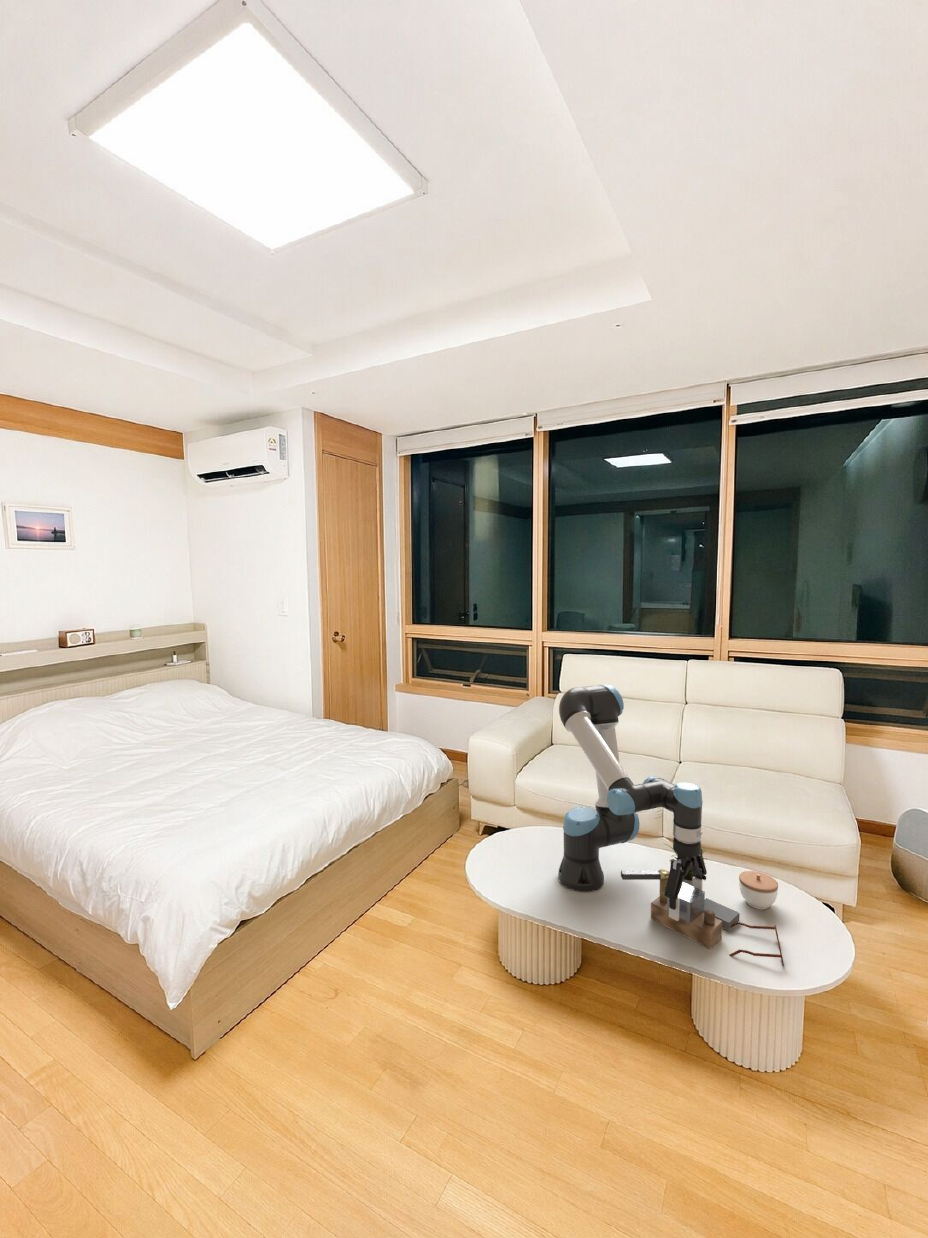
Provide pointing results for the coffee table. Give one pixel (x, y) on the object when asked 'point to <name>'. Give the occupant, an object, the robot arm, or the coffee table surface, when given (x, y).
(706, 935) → the body
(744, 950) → the glasses
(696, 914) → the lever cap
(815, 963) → the coffee table surface
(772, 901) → the lidded jar
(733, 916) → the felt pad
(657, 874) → the lever
